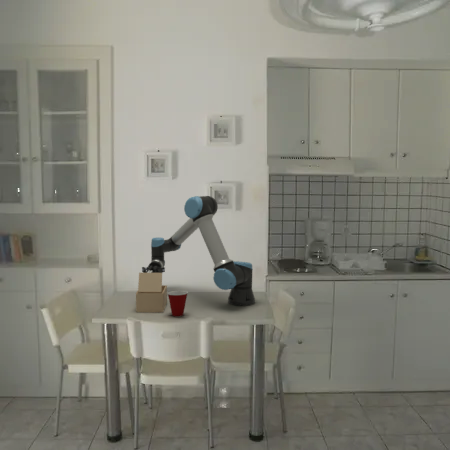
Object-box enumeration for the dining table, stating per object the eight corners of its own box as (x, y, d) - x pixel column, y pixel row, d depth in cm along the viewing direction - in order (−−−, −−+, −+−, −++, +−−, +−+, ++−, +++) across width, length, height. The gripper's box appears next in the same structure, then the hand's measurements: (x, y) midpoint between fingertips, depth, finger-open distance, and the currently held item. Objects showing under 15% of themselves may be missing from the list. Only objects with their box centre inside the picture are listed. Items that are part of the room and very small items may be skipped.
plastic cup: (183, 310, 245) (183, 288, 243) (191, 316, 235) (191, 292, 234) (163, 313, 239) (163, 290, 238) (171, 319, 230) (171, 295, 229)
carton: (166, 303, 259) (166, 285, 258) (163, 312, 241) (163, 293, 240) (141, 302, 259) (141, 285, 258) (136, 312, 241) (136, 293, 240)
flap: (161, 292, 241) (162, 272, 244) (161, 291, 241) (162, 272, 243) (138, 291, 241) (139, 272, 244) (138, 291, 240) (139, 272, 243)
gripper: (167, 273, 268) (161, 282, 244) (143, 273, 268) (135, 282, 244) (167, 260, 267) (161, 268, 244) (143, 260, 267) (135, 268, 244)
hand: (148, 275), depth 244 cm, fingers closed, pressing on flap
